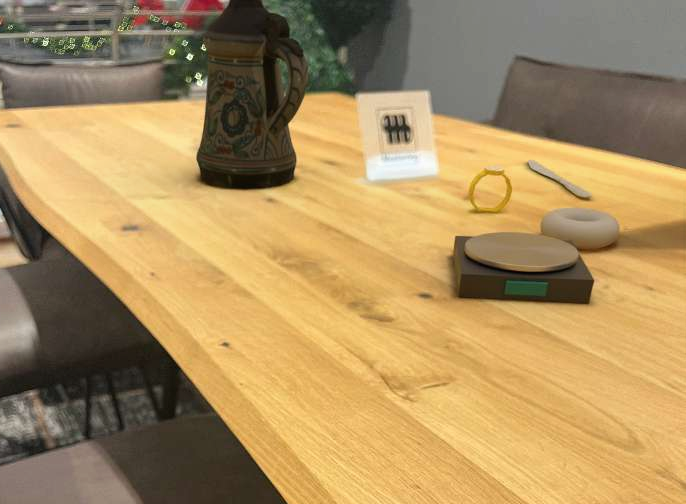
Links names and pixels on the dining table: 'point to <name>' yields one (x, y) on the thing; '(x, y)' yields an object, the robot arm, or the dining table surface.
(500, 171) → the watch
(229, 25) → the beer stein
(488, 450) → the dining table surface
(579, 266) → the scale
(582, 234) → the donut
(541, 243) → the scale pan
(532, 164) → the butter knife
